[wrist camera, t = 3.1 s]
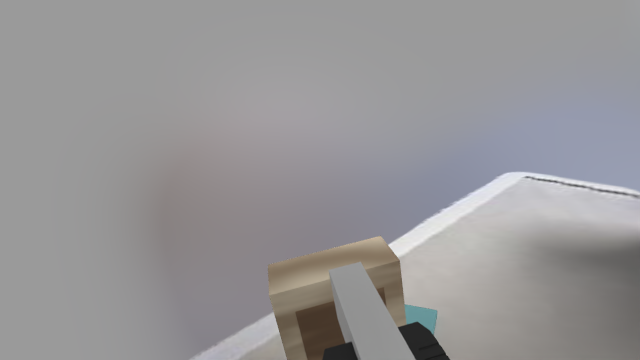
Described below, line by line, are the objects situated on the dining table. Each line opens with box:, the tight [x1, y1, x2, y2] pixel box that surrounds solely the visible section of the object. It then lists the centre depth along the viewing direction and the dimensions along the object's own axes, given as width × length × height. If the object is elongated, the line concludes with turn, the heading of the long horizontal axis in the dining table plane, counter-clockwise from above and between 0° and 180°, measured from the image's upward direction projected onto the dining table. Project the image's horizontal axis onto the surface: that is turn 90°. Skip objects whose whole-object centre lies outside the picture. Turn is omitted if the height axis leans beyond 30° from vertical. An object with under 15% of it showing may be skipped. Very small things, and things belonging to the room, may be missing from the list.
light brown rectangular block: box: [268, 236, 407, 360], centre depth 27 cm, size 4×10×16 cm, turn 100°
